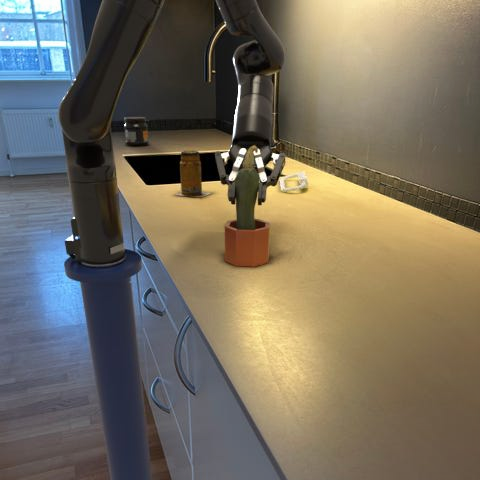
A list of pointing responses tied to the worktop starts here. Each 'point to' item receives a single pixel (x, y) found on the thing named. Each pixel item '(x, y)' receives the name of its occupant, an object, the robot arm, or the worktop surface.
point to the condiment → (191, 175)
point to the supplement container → (136, 131)
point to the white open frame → (301, 179)
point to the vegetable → (247, 192)
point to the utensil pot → (247, 244)
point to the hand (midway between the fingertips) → (246, 202)
